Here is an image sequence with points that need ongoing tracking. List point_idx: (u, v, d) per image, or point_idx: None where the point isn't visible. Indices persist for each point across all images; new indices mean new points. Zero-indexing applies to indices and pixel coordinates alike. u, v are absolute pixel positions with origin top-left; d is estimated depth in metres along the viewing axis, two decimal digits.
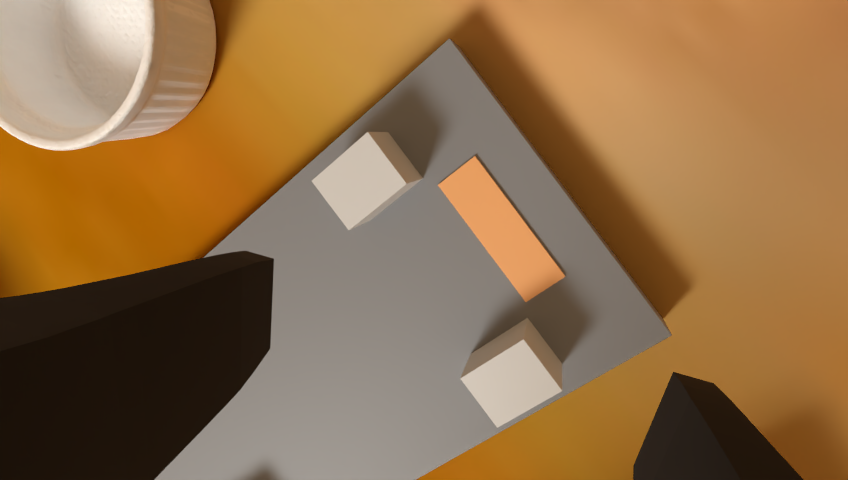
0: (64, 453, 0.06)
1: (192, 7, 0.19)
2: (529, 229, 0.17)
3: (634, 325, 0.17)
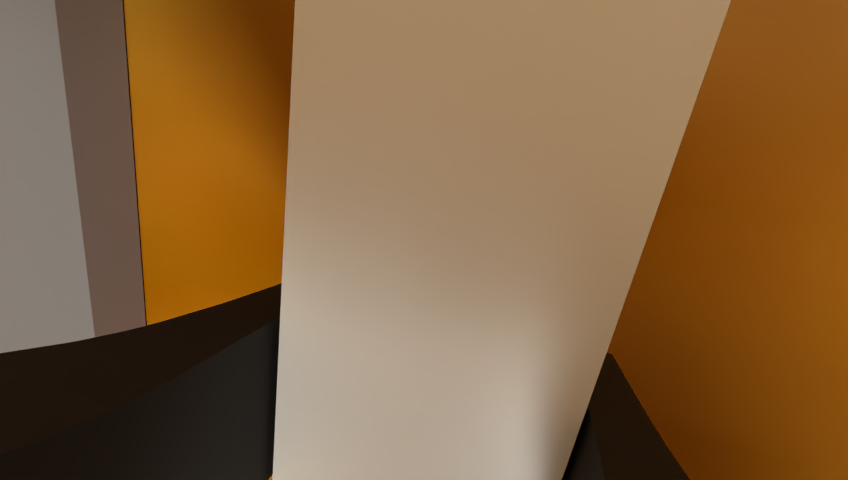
0: None
1: None
2: None
3: None
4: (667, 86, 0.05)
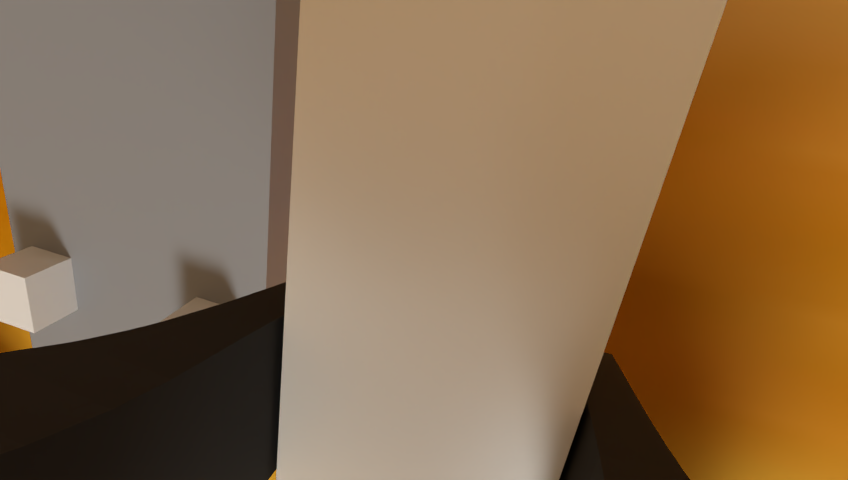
0: None
1: None
2: None
3: None
4: (667, 79, 0.05)
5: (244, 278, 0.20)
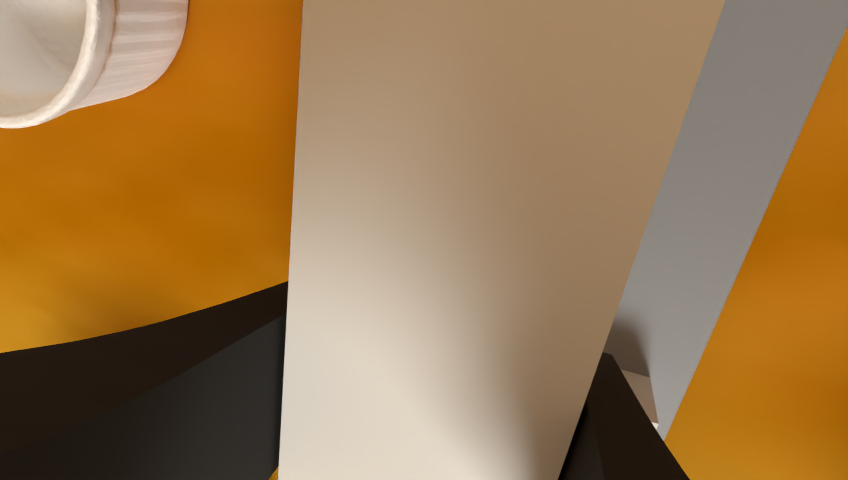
0: None
1: None
2: None
3: None
4: (667, 74, 0.05)
5: (671, 336, 0.14)
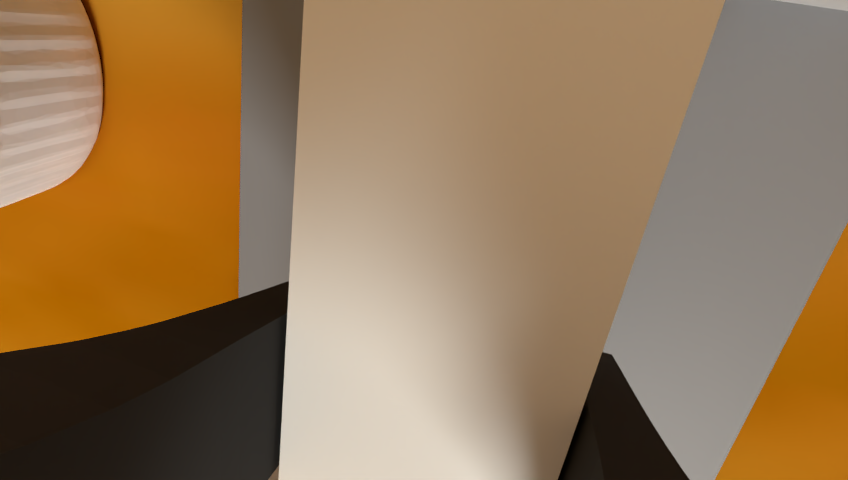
0: None
1: None
2: None
3: None
4: (667, 74, 0.05)
5: None
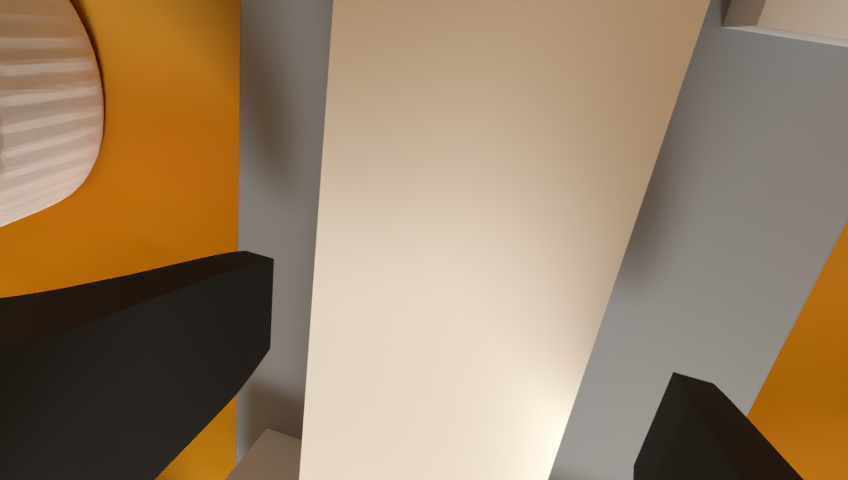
0: (64, 453, 0.06)
1: None
2: None
3: None
4: (658, 72, 0.06)
5: None
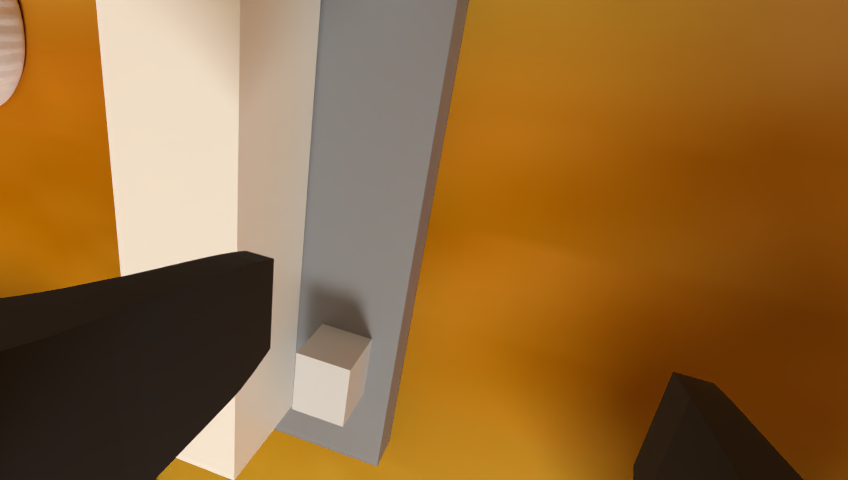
0: (64, 453, 0.06)
1: None
2: None
3: None
4: None
5: (379, 306, 0.19)
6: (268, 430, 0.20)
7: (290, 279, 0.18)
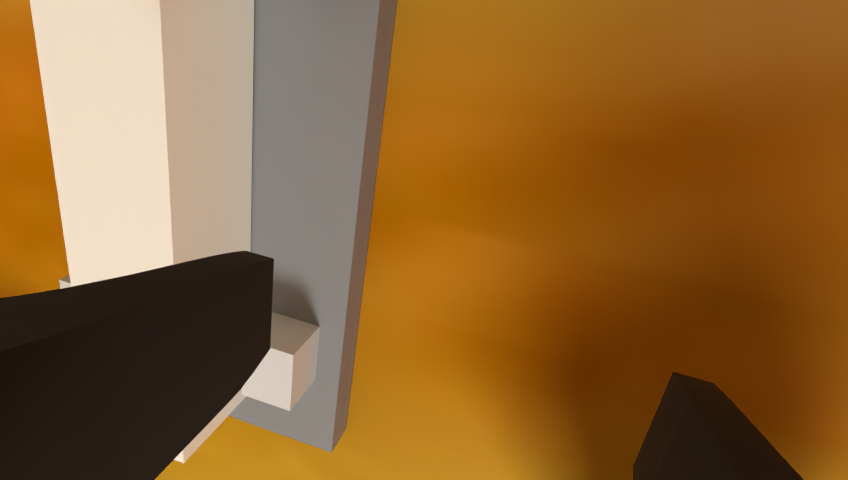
0: (64, 453, 0.06)
1: None
2: None
3: None
4: None
5: (325, 294, 0.19)
6: (221, 416, 0.21)
7: None
